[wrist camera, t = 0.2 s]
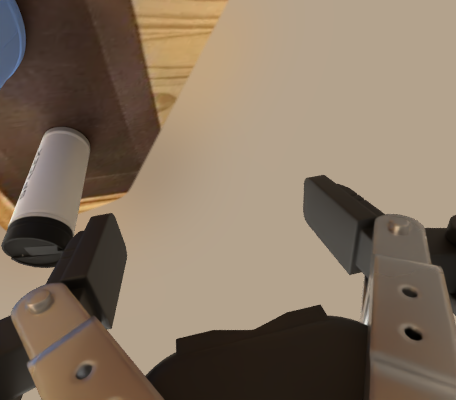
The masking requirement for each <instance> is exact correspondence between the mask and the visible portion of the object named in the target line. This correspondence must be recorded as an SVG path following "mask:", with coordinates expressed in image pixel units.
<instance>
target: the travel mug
mask: <svg viewBox="0 0 456 400" xmlns="http://www.w3.org/2000/svg"><path fill="white" fill-rule="evenodd" d="M89 154H90V143H89V141H88V140H87V138H86V137H85V136H84V135H83V134H82V133H80V132H79V131H77V130H75V129H72V128H68V127H55V128H51V129H50V130H48V131H47V132H46V133H45V134H44V136H43V139H42V142H41V144H40V146H39V149H38V151H37V154H36V156H35V159H34V162H33V164H32V167H31V169H30V172H29V174H28V177H27V179H26V182H25V184H24V187H23V190H22V192H21V195H20V197H19V200H18V202H17V205H16V207H15V210H14V212H13V215H12V218H11V220H10V223H9V225H8V230H7V233H6V235H5V237H4V240H3V242H2V245H1V246H2V250H3V251H4V252H5V253H6V254H7V255H8V256H11V257H12V258H11V259H12V260H14V261H16V262H18V263H20V264H23V265H27V266H32V267H41V268H50V267H55V266H56V264H57V262H58V261H59V260H60V257H61V255H62V253H63V252H65V248H66V246H67V244H68V242H69V241H70V240H71V239H72V238H73V236H74V231H75V226H76V221H77V216H78V211H79V206H80V200H81V195H82V190H83V185H84V180H85V174H86V169H87V164H88V159H89Z"/></svg>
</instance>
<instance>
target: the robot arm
mask: <svg viewBox="0 0 456 400" xmlns="http://www.w3.org/2000/svg"><path fill="white" fill-rule="evenodd" d="M303 212H304V217H305V220H306V222H307V223H308V225H309V226H310V227H311V229H312V230H313V231H314V232H315V233H316V235H317V236H318V237H319V238H320V239H321V241H322V242H323V243H324V244H325V246H326V247H327V248H328V249H329V251H330V252H331V253H332V254H333V255H334V257H335V258H336V259H337V260H338V261H339V263H340V264H341V265H342V266H343V268H344V269H345V270H346V271H347V272H348V274H349V275H351V274H356V273H360V272H363V274H364V275H365V277H364V283H363V294H362V304H361V315H360V322H358V321H354V320H352V319H347V318H343V317H337V316H327V315H326V313H325V311H324V310H323V308H322V307H321V305H317V306H313V307H308V308H304V309H300V310H296V311H292V312H287V313H285V314H283V315H281V316H279V317H277V318H276V319H274V320H272V321H270V322H268V323H266V324H264V325H262V326H261V327H258V328H256V329H254V330H212V331H208V332H204V333H199V334H195V335H192V336H187V337H183V338H179V339H176V353H174V354H172V355H170V356H169V357H167V358H165V359H164V360H162V361H161V362H160V363H159V364H157V365H156V366H155V367H154V368H153V369H152V370H151V371H150V372H149V373H148V374H147V375H146V376H144V375H143V373H142V372H141V371H140V370H139V368H138V367H137V366H136V365H135V364H134V362H133V361H132V360H131V359H130V357H128V355H127V354H126V353H125V351H124V350H123V349H122V348H121V347H120V345H119V344H118V343H117V342H116V341H115V339H114V338H113V337H112V336H111V335H110V333H109V332H108V331H107V329H111V328H112V324H113V320H114V316H115V310H116V306H117V301H118V297H119V292H120V288H121V283H122V278H123V273H124V269H125V264H126V260H127V252H126V246H125V243H124V240H123V237H122V235H121V232H120V229H119V227H118V224H117V221H116V218H115V216H114V215H113V214H112V213H109V214H104V215H98V216H93V217H91V218H90V220H89V222H88V224H87V226H86V228H85V230H84V231H80V232H78V233H77V234H76V235H75V236H74V237H73V238H72V239H71V240H70V241H69V242H68V244H67V246H66V248H65V252H63V253H62V255H61V257H60V260H59V261H58V262H57V264H56V266H55V268H54V270H53V272H52V273H51V275H50V277H49V279H48V281H47V283H46V284H45V285H43V286H40V287H38V288H36V289H34V290H32V291H31V292H29V293H28V294H26V295H25V296H24V297H22V298H21V299H20V300H19V301H18V302H17V303H16V305H15V306H14V308H13V310H12V312H11V316H9V317H6V318H4V319H2V320H0V400H21V398H22V395H23V394H24V393H25V392H27V391H29V390H31V389H33V388H35V387H36V388H37V390H38V392H39V395H40V397H41V399H42V400H456V325H455V320H454V316H453V313H454V314H455V315H456V215H455V216H453V217H451V219H450V221H449V224H448V227H447V228H424V226H423V225H422V224H421V223H419V222H418V221H417V220H415V219H413V218H410V217H407V216H403V215H398V214H386V215H385V214H384V213H382V212H381V211H380V210H378V209H377V208H376V207H374V206H373V205H371V204H370V203H369V202H368V201H366V200H364V199H363V198H362V197H361V196H359V195H357V193H355V192H354V191H353V190H351V189H350V188H348V187H345V186H343V185H340V184H336V183H334V182H333V181H332V180H330V179H329V178H328V177H326V176H325V175H321V176H315V177H309V178H306V179H305V182H304V204H303Z"/></svg>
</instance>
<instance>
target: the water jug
mask: <svg viewBox="0 0 456 400" xmlns="http://www.w3.org/2000/svg"><path fill="white" fill-rule="evenodd" d="M25 47H26V34H25V27H24V23H23V19H22V16H21V13H20V10H19V8H18V5H17V3H16V1H15V0H0V89H1V87H2V86H3V85H4V83H5V82H6V80H7V79H9V78H10V77H11V76H12V75H13V73H14V72H15V71H16V69H17V68H18V66H19V65H20V63H21V61H22V59H23V56H24V52H25Z"/></svg>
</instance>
